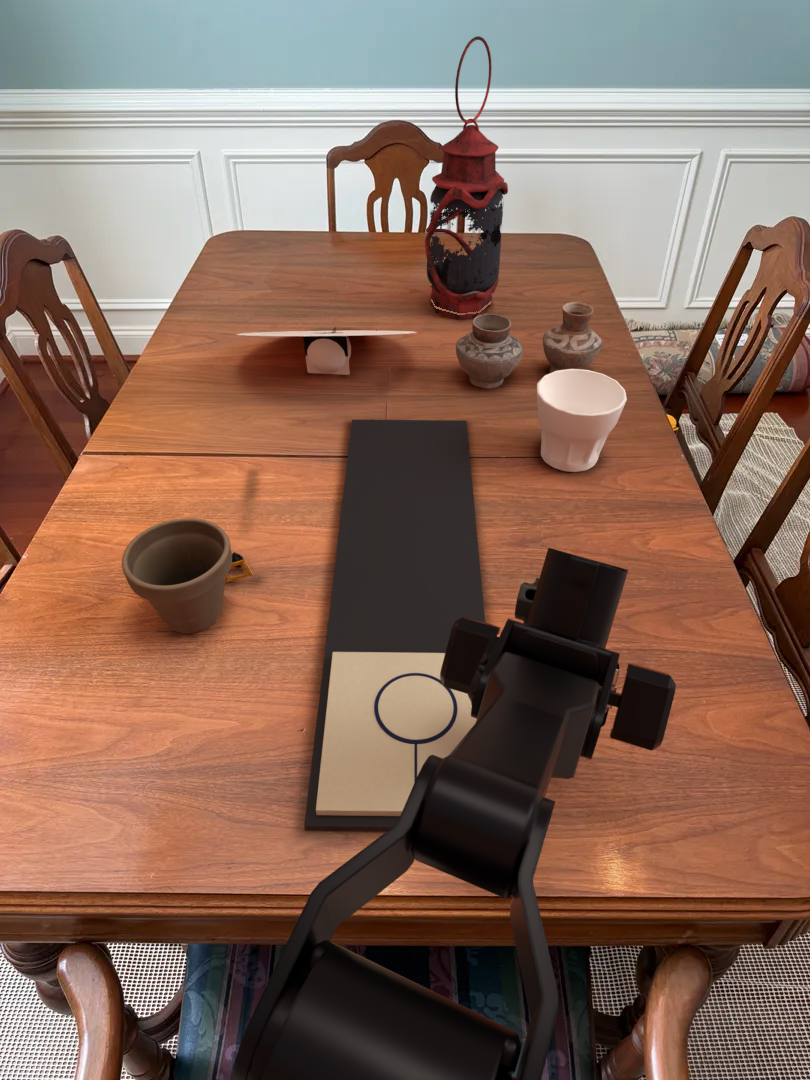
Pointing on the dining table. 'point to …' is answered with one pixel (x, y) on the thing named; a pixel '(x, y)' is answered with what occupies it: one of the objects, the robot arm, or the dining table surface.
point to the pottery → (500, 353)
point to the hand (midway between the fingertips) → (557, 670)
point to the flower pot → (180, 571)
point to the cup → (577, 416)
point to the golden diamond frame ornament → (238, 563)
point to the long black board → (394, 620)
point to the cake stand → (327, 347)
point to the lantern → (467, 187)
